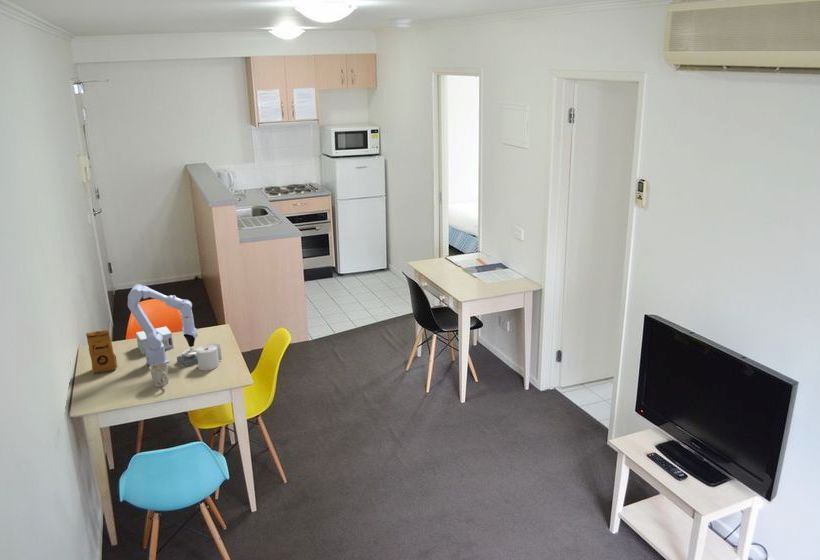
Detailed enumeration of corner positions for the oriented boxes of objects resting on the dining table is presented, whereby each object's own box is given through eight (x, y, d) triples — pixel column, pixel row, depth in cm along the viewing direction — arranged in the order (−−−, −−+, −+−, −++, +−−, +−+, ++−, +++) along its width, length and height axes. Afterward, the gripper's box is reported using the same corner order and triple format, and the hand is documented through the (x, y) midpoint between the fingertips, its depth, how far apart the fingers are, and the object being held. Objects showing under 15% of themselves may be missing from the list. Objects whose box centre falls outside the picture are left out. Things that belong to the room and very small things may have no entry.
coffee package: (117, 371, 344) (110, 332, 337) (91, 375, 340) (83, 336, 333) (119, 364, 353) (112, 326, 346) (93, 367, 349) (86, 329, 342)
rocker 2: (187, 356, 348) (187, 354, 348) (184, 355, 350) (184, 352, 350) (197, 355, 352) (197, 353, 352) (195, 354, 354) (195, 351, 354)
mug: (164, 378, 335) (161, 361, 332) (177, 385, 327) (175, 367, 324) (149, 385, 329) (146, 366, 325) (162, 392, 321) (159, 373, 318)
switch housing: (185, 367, 347) (183, 358, 345) (177, 362, 354) (176, 353, 352) (204, 360, 354) (203, 352, 353) (196, 355, 361) (195, 347, 359)
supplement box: (142, 355, 363) (140, 339, 360) (137, 347, 374) (135, 332, 371) (174, 347, 372) (171, 332, 369) (168, 340, 382) (166, 325, 380)
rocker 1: (184, 356, 352) (183, 354, 351) (181, 354, 354) (181, 352, 353) (194, 350, 355) (193, 348, 354) (191, 349, 357) (191, 347, 356)
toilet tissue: (194, 370, 344) (192, 352, 341) (204, 360, 355) (202, 343, 352) (214, 370, 343) (212, 353, 339) (223, 360, 354) (221, 343, 351)
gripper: (201, 324, 348) (204, 347, 352) (189, 317, 358) (192, 340, 362) (188, 328, 344) (192, 351, 348) (176, 320, 354) (180, 344, 358)
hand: (191, 346), depth 355 cm, fingers closed
